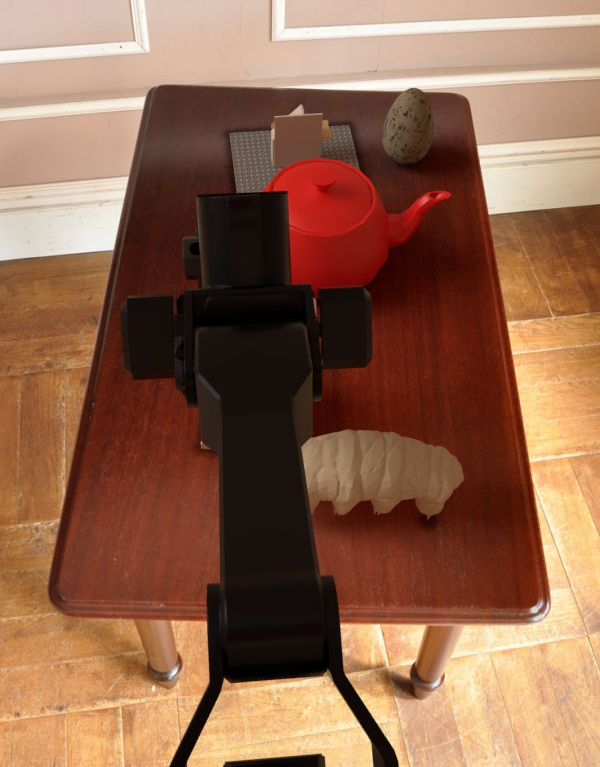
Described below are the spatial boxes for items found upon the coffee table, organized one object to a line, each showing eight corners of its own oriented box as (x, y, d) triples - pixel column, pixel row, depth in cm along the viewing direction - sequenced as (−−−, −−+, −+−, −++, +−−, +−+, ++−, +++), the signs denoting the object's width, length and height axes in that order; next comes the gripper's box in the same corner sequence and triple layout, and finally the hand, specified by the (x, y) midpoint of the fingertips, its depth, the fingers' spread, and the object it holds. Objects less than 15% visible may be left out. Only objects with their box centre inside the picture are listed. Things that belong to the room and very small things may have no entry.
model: (261, 468, 81) (260, 413, 72) (449, 469, 81) (469, 414, 73) (260, 533, 77) (258, 483, 69) (457, 534, 77) (479, 484, 69)
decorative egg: (387, 179, 102) (397, 111, 94) (372, 146, 105) (381, 77, 97) (434, 172, 103) (449, 103, 95) (418, 139, 106) (431, 70, 98)
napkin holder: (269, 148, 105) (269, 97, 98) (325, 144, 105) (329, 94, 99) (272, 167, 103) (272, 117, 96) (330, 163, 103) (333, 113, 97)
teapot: (211, 315, 90) (203, 234, 80) (213, 208, 99) (206, 123, 89) (446, 310, 91) (468, 231, 81) (428, 205, 100) (445, 121, 90)
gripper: (383, 220, 57) (352, 217, 72) (100, 232, 56) (128, 227, 71) (387, 384, 59) (355, 348, 75) (114, 399, 58) (139, 359, 73)
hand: (246, 318), depth 73 cm, fingers closed on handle, 3 cm apart
